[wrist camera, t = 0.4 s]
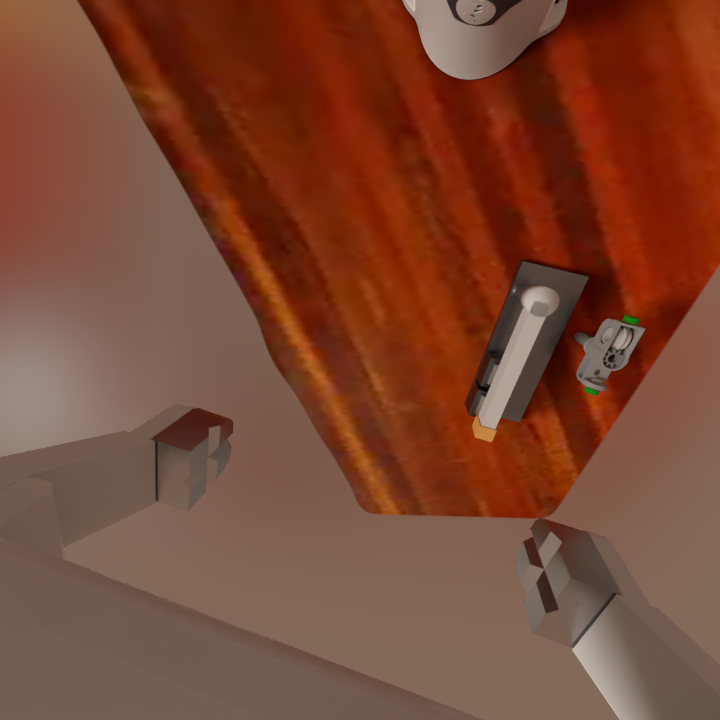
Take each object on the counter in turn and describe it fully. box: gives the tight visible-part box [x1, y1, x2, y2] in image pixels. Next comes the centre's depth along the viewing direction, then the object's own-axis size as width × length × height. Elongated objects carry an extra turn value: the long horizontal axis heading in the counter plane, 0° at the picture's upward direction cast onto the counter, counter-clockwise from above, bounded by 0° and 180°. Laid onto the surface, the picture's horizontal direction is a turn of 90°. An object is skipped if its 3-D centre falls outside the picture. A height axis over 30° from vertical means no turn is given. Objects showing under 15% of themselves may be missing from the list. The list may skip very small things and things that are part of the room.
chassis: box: [464, 261, 589, 422], centre depth 49 cm, size 24×9×6 cm, turn 167°
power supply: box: [477, 351, 503, 388], centre depth 50 cm, size 5×4×4 cm
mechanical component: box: [574, 315, 645, 395], centre depth 45 cm, size 3×10×10 cm, turn 167°
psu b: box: [466, 381, 489, 417], centre depth 52 cm, size 5×4×4 cm
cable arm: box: [472, 284, 559, 442], centre depth 45 cm, size 22×4×3 cm, turn 167°
